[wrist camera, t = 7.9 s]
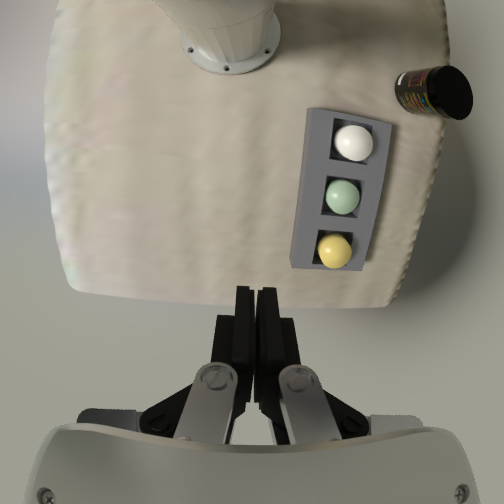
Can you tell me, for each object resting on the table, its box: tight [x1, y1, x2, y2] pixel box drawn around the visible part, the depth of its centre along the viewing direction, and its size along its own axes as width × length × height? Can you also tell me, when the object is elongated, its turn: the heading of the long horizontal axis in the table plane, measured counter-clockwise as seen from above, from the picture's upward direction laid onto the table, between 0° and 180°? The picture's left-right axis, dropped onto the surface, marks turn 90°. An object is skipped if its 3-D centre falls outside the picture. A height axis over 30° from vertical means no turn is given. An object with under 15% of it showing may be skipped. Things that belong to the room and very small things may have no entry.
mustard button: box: [317, 232, 352, 268], centre depth 37 cm, size 4×4×2 cm
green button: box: [324, 178, 359, 214], centre depth 35 cm, size 4×4×2 cm
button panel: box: [290, 108, 392, 271], centre depth 35 cm, size 22×11×3 cm, turn 176°
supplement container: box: [395, 66, 473, 120], centre depth 24 cm, size 7×7×10 cm
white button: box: [334, 125, 373, 161], centre depth 30 cm, size 4×4×2 cm
